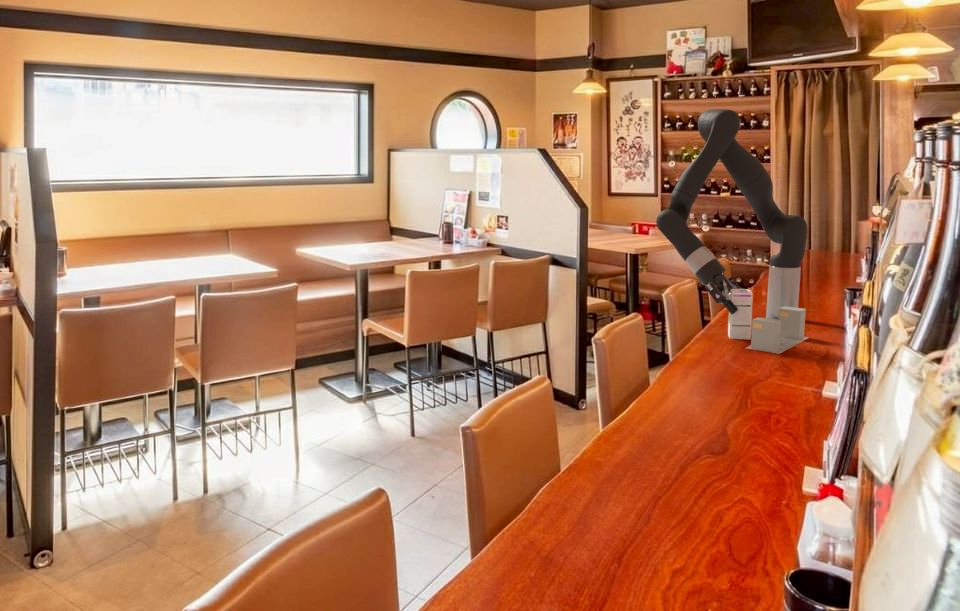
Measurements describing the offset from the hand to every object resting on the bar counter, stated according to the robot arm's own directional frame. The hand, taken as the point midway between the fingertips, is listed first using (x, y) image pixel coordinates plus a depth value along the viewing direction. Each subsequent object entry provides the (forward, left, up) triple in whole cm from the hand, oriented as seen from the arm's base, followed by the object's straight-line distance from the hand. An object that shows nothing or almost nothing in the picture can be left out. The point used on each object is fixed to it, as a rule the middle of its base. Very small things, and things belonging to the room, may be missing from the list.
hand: (741, 310), depth 211 cm
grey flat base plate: (0, +11, -9) cm, 14 cm away
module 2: (-10, +11, -8) cm, 16 cm away
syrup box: (0, 0, -9) cm, 9 cm away
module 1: (+9, +11, -8) cm, 16 cm away
